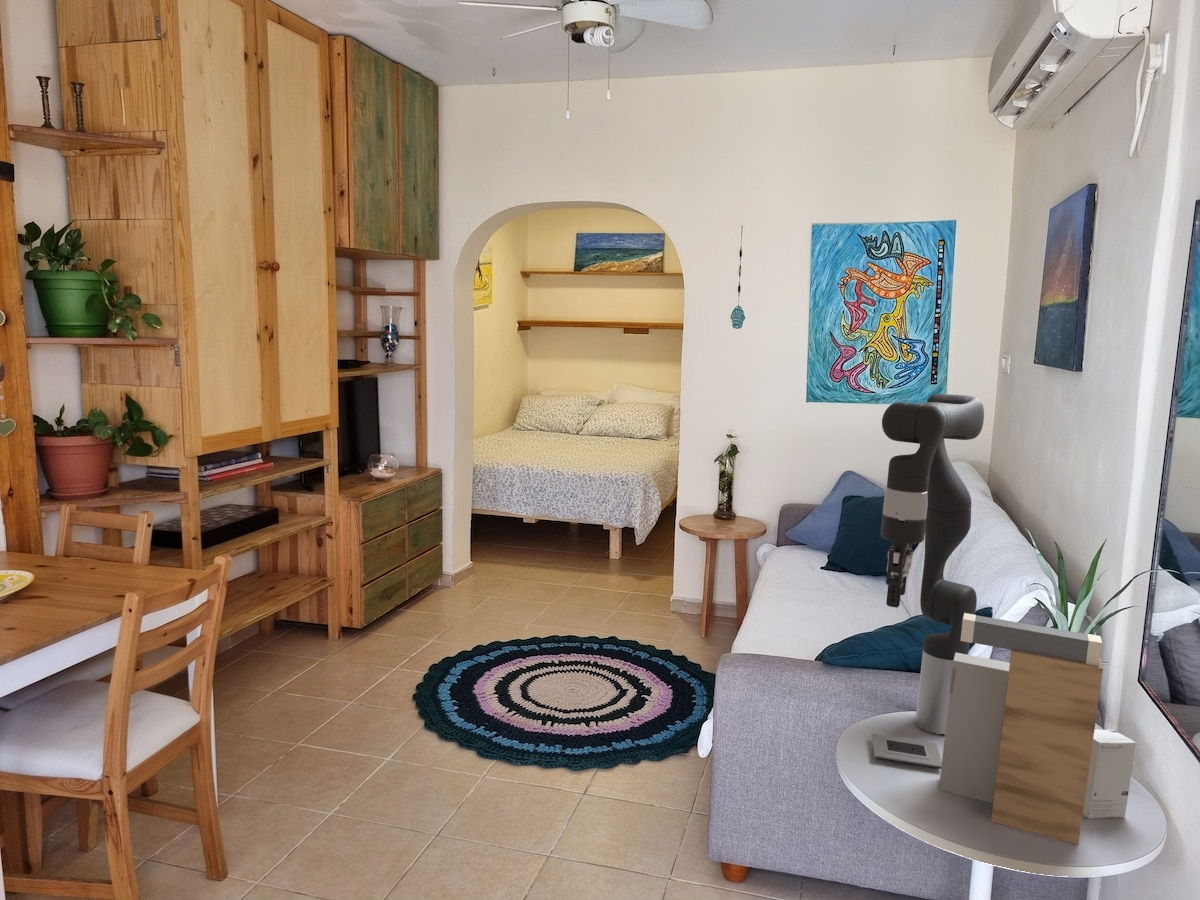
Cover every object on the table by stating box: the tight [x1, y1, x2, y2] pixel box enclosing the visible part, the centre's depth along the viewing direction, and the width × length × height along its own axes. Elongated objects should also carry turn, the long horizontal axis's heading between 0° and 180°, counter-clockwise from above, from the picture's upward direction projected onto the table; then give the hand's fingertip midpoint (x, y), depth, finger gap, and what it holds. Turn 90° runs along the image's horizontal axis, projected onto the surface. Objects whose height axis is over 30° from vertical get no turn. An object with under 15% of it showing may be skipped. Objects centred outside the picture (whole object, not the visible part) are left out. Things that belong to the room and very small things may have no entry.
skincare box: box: [1082, 729, 1137, 820], centre depth 164 cm, size 8×6×15 cm
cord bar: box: [960, 613, 1103, 666], centre depth 156 cm, size 4×22×4 cm, turn 64°
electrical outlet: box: [871, 732, 942, 770], centre depth 183 cm, size 13×10×2 cm
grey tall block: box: [938, 652, 1010, 805], centre depth 168 cm, size 5×12×26 cm, turn 64°
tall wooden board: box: [990, 650, 1104, 845], centre depth 157 cm, size 6×14×32 cm, turn 64°
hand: (895, 600), depth 162 cm, fingers open, 8 cm apart
